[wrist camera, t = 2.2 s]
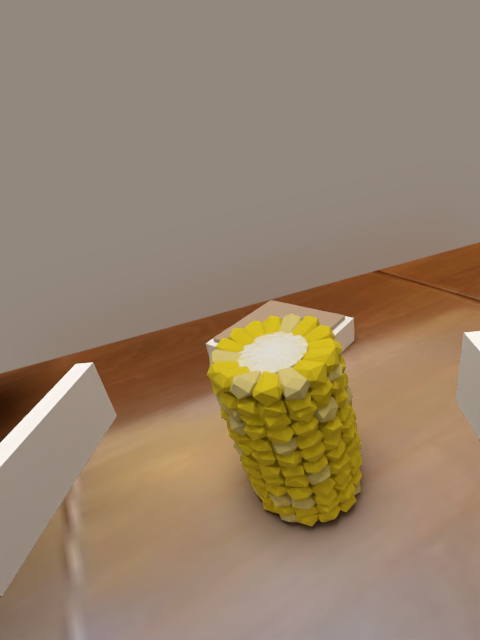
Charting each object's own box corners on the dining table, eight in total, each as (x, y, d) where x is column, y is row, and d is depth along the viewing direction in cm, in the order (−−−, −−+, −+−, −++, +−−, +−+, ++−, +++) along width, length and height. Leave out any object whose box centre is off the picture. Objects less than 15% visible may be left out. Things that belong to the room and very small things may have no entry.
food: (375, 538, 26) (244, 537, 28) (350, 405, 35) (252, 413, 37) (375, 426, 16) (178, 439, 19) (340, 283, 25) (209, 303, 27)
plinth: (211, 364, 48) (204, 339, 46) (273, 319, 56) (270, 297, 54) (294, 399, 39) (290, 370, 37) (354, 340, 47) (353, 314, 45)
